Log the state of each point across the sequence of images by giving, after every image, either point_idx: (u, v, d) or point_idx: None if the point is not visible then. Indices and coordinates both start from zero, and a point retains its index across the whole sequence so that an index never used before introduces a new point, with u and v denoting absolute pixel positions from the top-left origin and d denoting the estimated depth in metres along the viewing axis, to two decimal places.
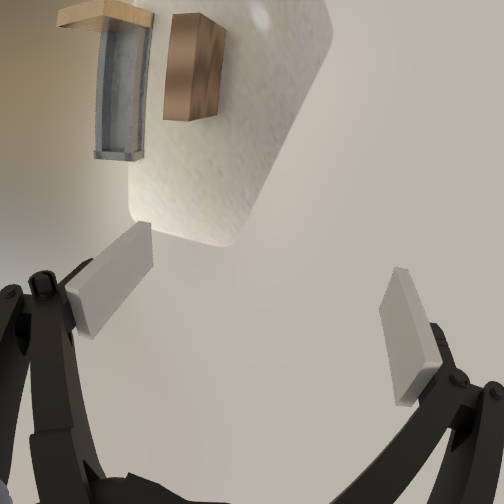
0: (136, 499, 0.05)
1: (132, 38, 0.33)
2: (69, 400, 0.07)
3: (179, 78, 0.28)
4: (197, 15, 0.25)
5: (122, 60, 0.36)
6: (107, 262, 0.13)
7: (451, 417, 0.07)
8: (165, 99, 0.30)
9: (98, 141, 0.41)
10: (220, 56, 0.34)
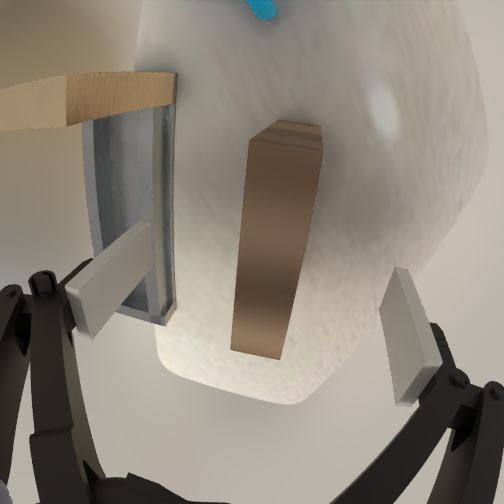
0: (136, 499, 0.05)
1: (140, 129, 0.20)
2: (69, 400, 0.07)
3: (266, 294, 0.16)
4: (316, 158, 0.12)
5: (126, 161, 0.24)
6: (107, 262, 0.13)
7: (451, 417, 0.07)
8: (235, 323, 0.17)
9: None
10: None
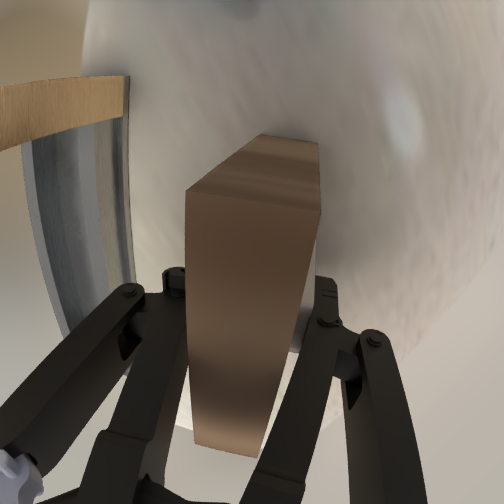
0: (136, 499, 0.05)
1: (81, 152, 0.15)
2: (160, 411, 0.07)
3: (232, 402, 0.10)
4: (307, 223, 0.07)
5: (75, 188, 0.18)
6: None
7: (334, 358, 0.10)
8: (196, 423, 0.12)
9: (65, 333, 0.23)
10: None
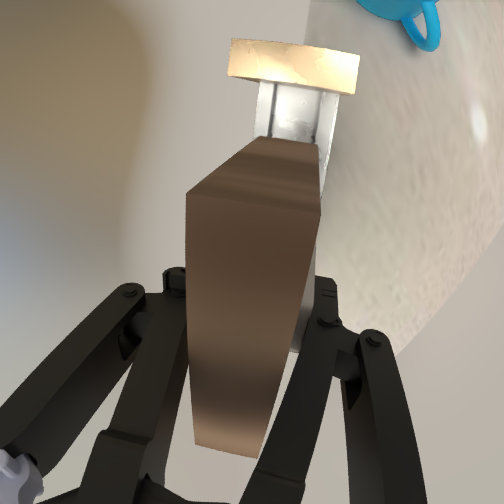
0: (136, 499, 0.05)
1: (322, 111, 0.25)
2: (160, 411, 0.07)
3: (232, 403, 0.10)
4: (307, 226, 0.07)
5: (288, 136, 0.28)
6: None
7: (334, 357, 0.10)
8: (196, 424, 0.12)
9: None
10: None
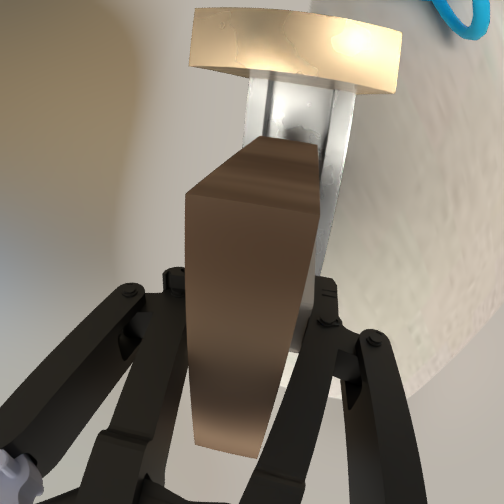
0: (136, 499, 0.05)
1: (334, 115, 0.18)
2: (160, 411, 0.07)
3: (232, 403, 0.10)
4: (307, 226, 0.07)
5: None
6: None
7: (334, 357, 0.10)
8: (196, 424, 0.12)
9: None
10: None
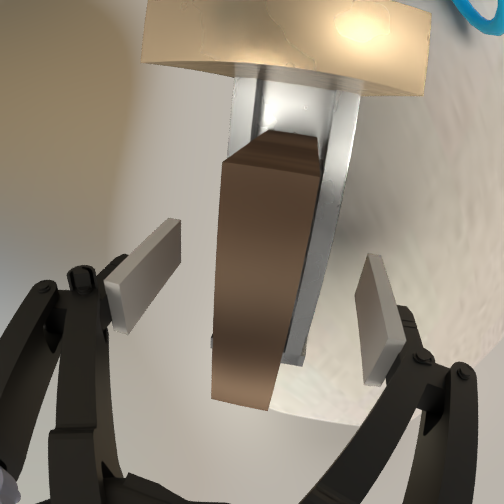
0: (136, 499, 0.05)
1: (335, 121, 0.15)
2: (96, 400, 0.07)
3: (248, 346, 0.13)
4: (310, 185, 0.09)
5: None
6: (144, 257, 0.13)
7: (419, 395, 0.08)
8: (215, 374, 0.14)
9: None
10: None
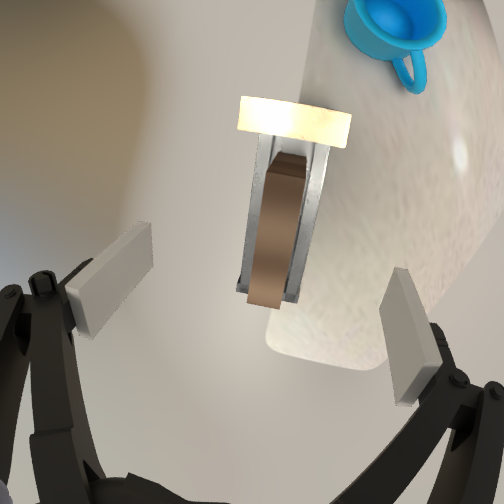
0: (136, 499, 0.05)
1: (316, 149, 0.29)
2: (69, 400, 0.07)
3: (271, 262, 0.26)
4: (302, 182, 0.23)
5: None
6: (107, 262, 0.13)
7: (451, 417, 0.07)
8: (251, 282, 0.28)
9: (246, 274, 0.37)
10: None
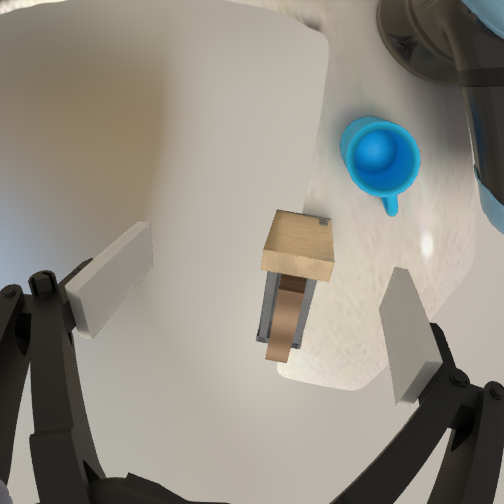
0: (136, 499, 0.05)
1: None
2: (69, 400, 0.07)
3: (281, 337, 0.40)
4: (301, 295, 0.36)
5: None
6: (107, 262, 0.13)
7: (451, 417, 0.07)
8: (268, 348, 0.41)
9: (263, 330, 0.50)
10: None
